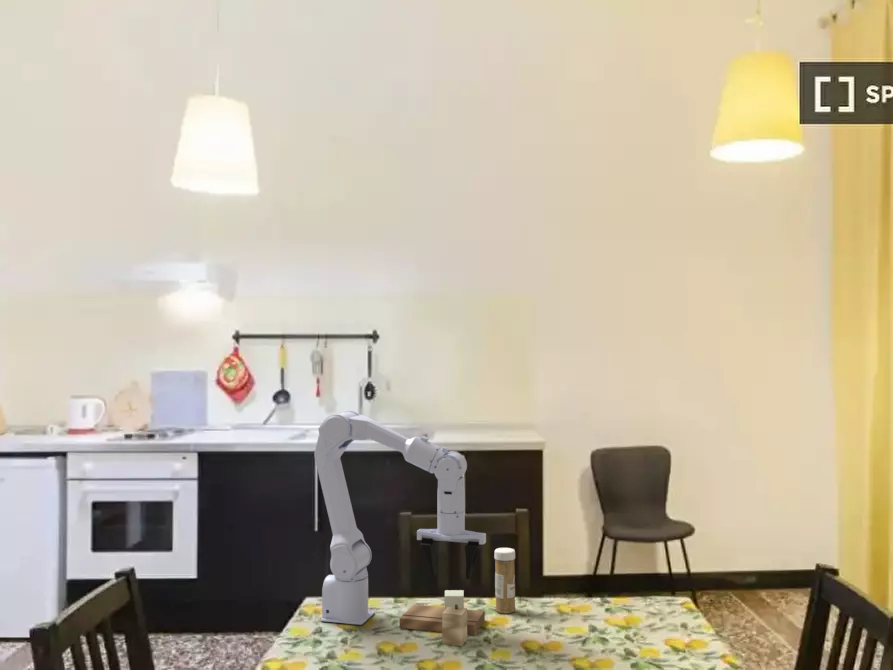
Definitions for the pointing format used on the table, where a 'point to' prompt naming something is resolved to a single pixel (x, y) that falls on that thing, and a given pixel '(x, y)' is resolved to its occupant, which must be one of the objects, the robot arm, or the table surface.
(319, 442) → the robot arm
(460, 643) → the block
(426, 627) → the plank
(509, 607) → the sprinkles bottle
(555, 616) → the table surface
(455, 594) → the offcut block
